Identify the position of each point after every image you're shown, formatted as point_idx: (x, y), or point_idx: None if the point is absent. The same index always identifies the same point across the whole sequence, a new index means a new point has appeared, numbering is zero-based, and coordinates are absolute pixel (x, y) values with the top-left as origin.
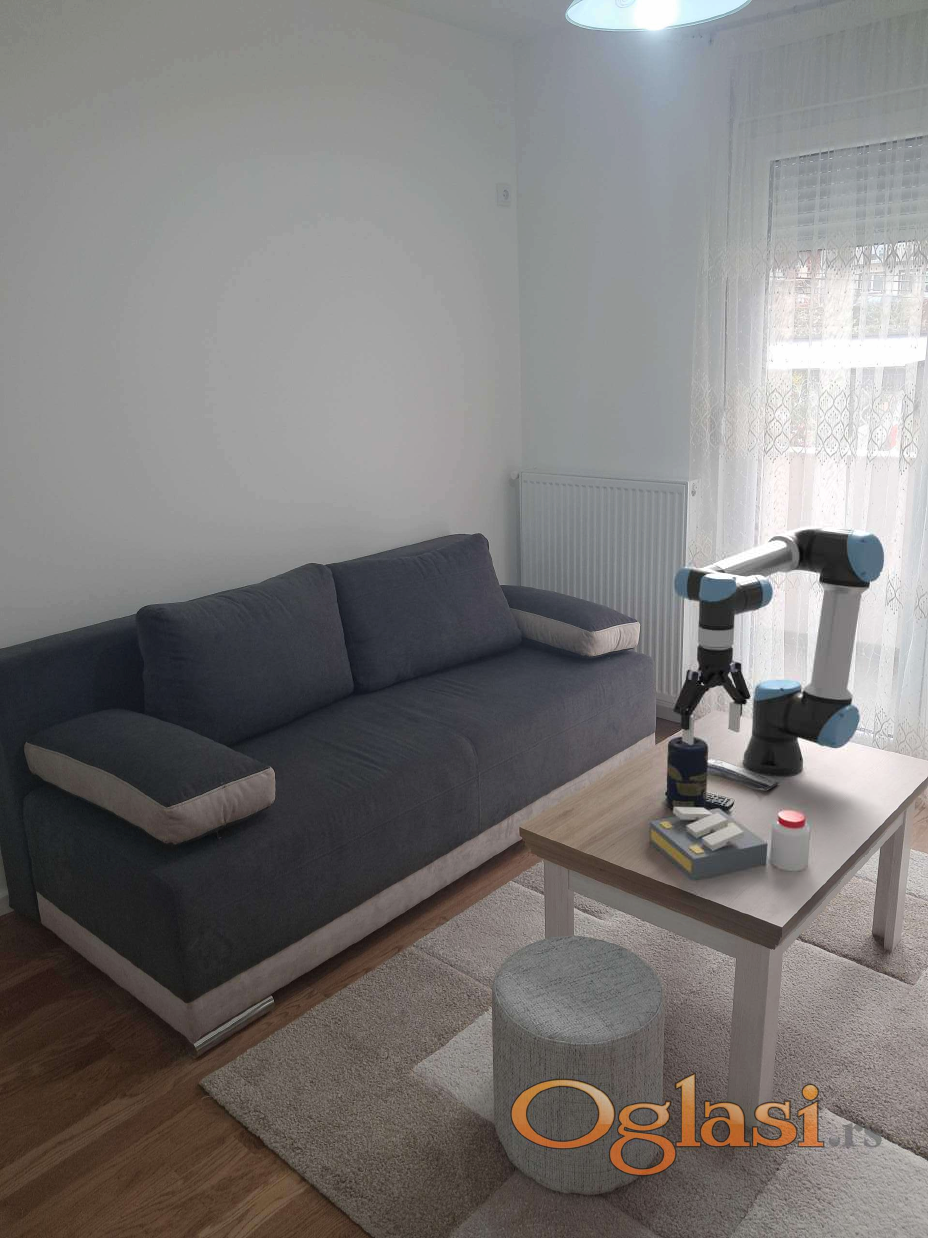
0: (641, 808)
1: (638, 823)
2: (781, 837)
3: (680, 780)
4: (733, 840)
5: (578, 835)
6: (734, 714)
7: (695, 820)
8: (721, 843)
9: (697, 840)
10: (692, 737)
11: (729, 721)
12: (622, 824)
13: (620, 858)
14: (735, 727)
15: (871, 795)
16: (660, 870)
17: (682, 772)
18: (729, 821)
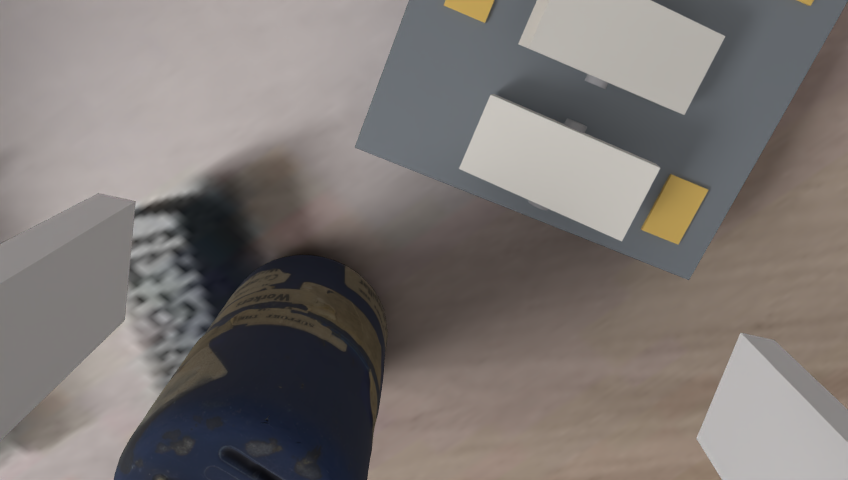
0: (445, 422)
1: (555, 361)
2: None
3: (372, 376)
4: None
5: None
6: (16, 336)
7: (586, 126)
8: None
9: (716, 20)
10: (789, 374)
11: (81, 352)
12: (602, 394)
13: (839, 244)
14: (107, 243)
15: None
16: (832, 81)
17: (364, 393)
18: (437, 27)
